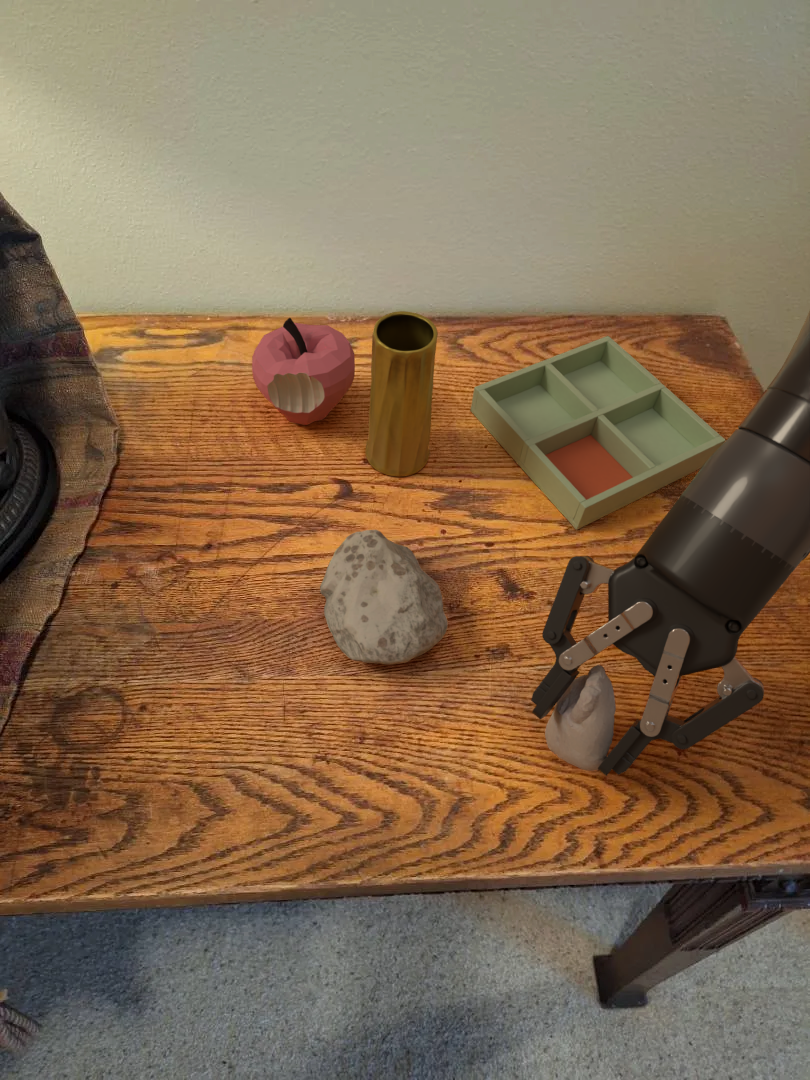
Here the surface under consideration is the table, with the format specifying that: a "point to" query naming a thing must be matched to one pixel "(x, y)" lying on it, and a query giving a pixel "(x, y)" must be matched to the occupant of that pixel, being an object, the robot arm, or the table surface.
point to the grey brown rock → (583, 721)
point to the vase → (401, 393)
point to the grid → (594, 429)
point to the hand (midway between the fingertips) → (571, 740)
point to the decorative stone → (381, 601)
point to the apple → (303, 370)
